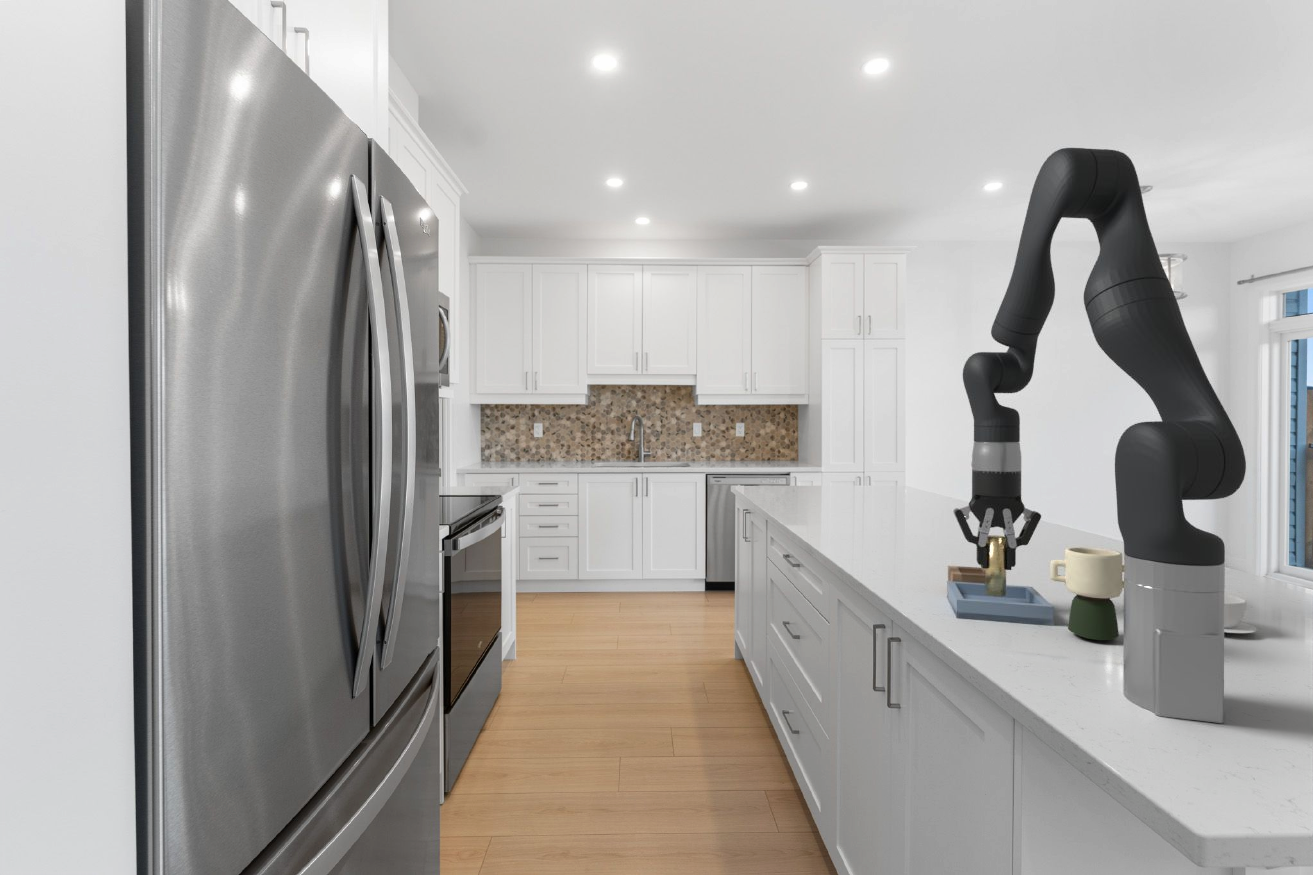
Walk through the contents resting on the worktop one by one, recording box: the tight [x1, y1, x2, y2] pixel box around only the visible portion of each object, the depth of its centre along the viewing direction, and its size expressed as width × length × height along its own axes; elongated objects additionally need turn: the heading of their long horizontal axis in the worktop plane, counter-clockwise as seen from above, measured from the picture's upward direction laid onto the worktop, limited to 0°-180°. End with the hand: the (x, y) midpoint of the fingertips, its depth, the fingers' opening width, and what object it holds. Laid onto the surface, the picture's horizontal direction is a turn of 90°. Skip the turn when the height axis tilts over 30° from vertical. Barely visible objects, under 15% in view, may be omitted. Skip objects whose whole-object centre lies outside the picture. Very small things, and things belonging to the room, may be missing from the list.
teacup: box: [1224, 593, 1258, 634], centre depth 102 cm, size 10×10×5 cm
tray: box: [946, 580, 1054, 627], centre depth 111 cm, size 14×14×3 cm
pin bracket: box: [947, 565, 985, 584], centre depth 124 cm, size 8×8×4 cm
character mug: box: [1049, 546, 1124, 641], centre depth 96 cm, size 11×7×13 cm, turn 59°
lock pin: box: [985, 534, 1007, 597], centre depth 111 cm, size 3×3×10 cm
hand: (995, 567), depth 111 cm, fingers closed on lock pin, 3 cm apart
